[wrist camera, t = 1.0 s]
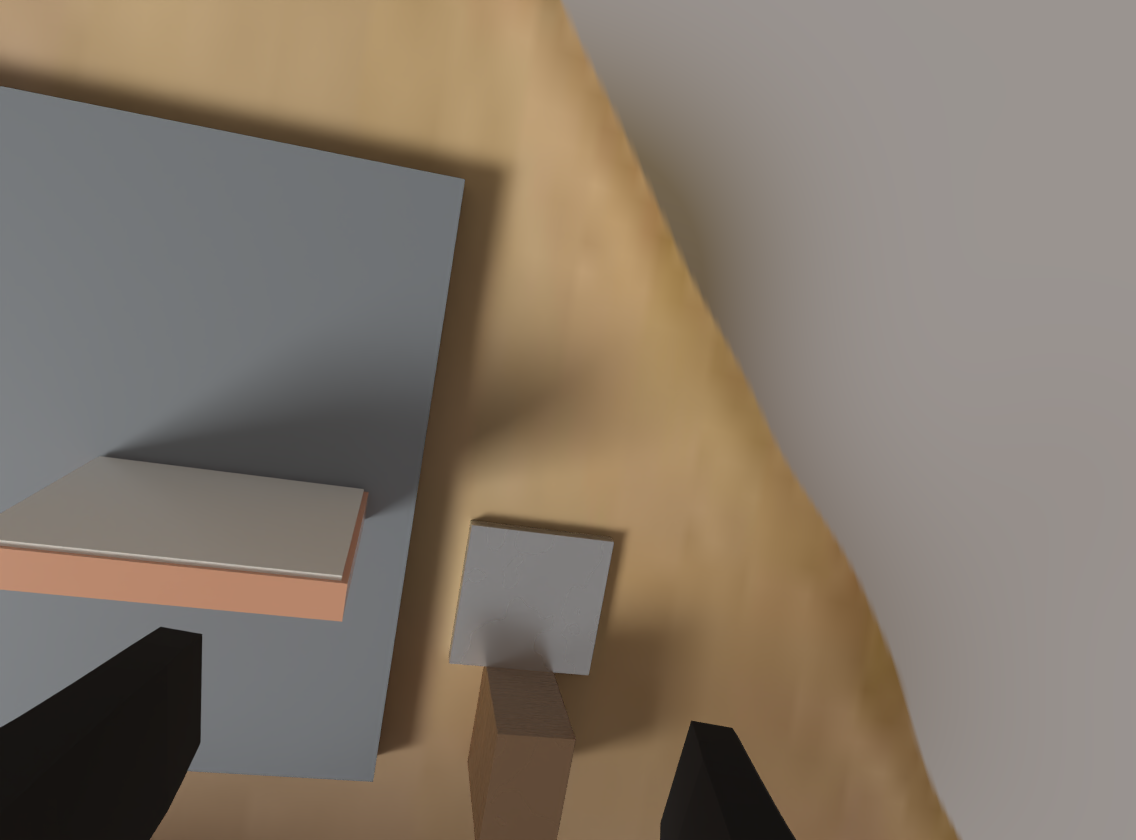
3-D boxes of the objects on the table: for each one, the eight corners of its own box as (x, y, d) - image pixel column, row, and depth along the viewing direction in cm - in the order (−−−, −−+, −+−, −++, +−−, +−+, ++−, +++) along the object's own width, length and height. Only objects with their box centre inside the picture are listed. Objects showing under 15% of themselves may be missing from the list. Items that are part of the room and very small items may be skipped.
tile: (364, 519, 27) (342, 621, 19) (93, 487, 25) (-54, 584, 17) (369, 488, 27) (348, 578, 19) (95, 454, 25) (-51, 537, 17)
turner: (566, 767, 31) (593, 860, 26) (431, 759, 30) (433, 853, 25) (610, 536, 30) (647, 588, 25) (470, 519, 29) (480, 570, 24)
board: (375, 756, 30) (372, 781, 28) (-137, 724, 27) (-170, 750, 25) (462, 184, 27) (465, 179, 25) (-101, 71, 24) (-135, 59, 22)
